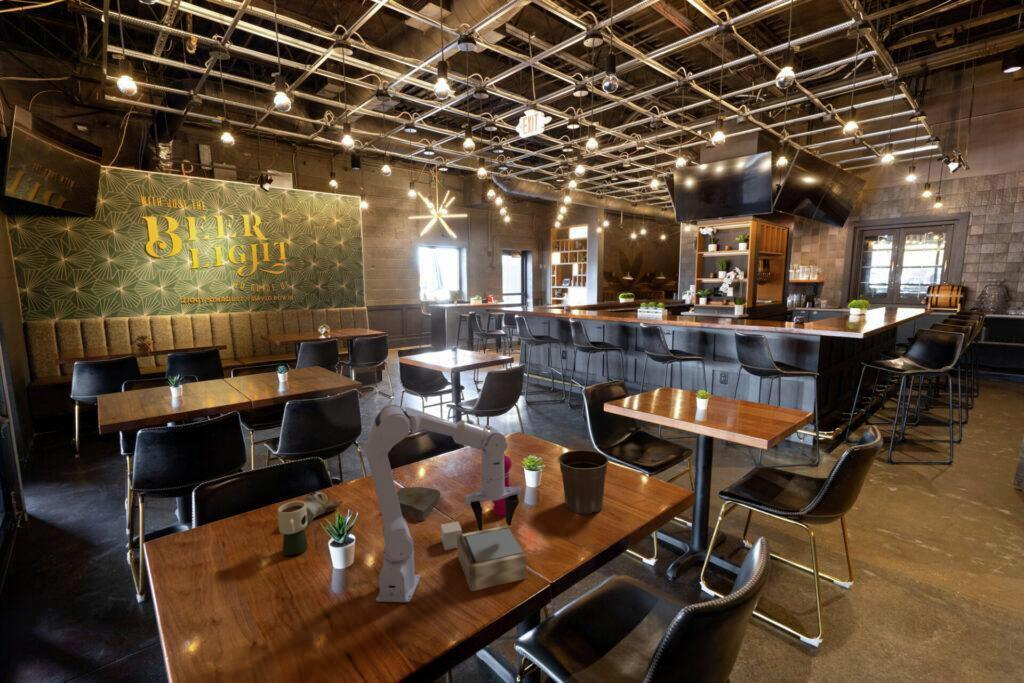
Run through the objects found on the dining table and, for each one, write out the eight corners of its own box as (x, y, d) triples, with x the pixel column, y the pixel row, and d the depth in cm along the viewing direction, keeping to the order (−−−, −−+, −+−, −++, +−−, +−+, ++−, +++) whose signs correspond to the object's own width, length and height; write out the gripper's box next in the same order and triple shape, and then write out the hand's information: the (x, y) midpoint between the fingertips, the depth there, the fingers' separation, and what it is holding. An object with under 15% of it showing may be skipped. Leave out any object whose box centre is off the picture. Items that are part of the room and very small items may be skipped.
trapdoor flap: (476, 566, 108) (476, 562, 108) (465, 540, 119) (465, 536, 119) (523, 555, 112) (523, 552, 111) (508, 531, 123) (508, 528, 123)
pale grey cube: (444, 550, 123) (443, 533, 123) (441, 541, 128) (440, 524, 128) (462, 546, 125) (461, 529, 124) (458, 537, 130) (458, 521, 129)
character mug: (308, 558, 121) (305, 513, 119) (279, 565, 118) (275, 518, 117) (310, 538, 131) (307, 496, 129) (283, 544, 128) (279, 500, 127)
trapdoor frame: (470, 591, 106) (470, 564, 105) (457, 556, 121) (457, 532, 120) (526, 578, 111) (525, 552, 110) (507, 545, 125) (506, 522, 124)
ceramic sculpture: (282, 497, 138) (317, 480, 152) (283, 524, 138) (318, 505, 153) (310, 502, 135) (344, 484, 149) (311, 530, 135) (344, 510, 149)
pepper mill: (489, 508, 147) (487, 449, 144) (509, 503, 149) (508, 446, 147) (496, 518, 140) (494, 456, 138) (517, 513, 143) (516, 453, 140)
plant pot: (555, 515, 141) (554, 466, 139) (561, 492, 157) (561, 448, 155) (607, 520, 137) (608, 470, 135) (609, 497, 153) (609, 451, 151)
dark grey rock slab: (423, 522, 139) (423, 510, 138) (381, 518, 142) (380, 505, 142) (444, 498, 155) (443, 486, 154) (405, 494, 158) (404, 483, 158)
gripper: (515, 466, 120) (515, 514, 122) (462, 473, 116) (463, 523, 117) (524, 476, 114) (524, 526, 115) (468, 484, 109) (469, 537, 111)
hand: (494, 526), depth 116 cm, fingers open, 7 cm apart
